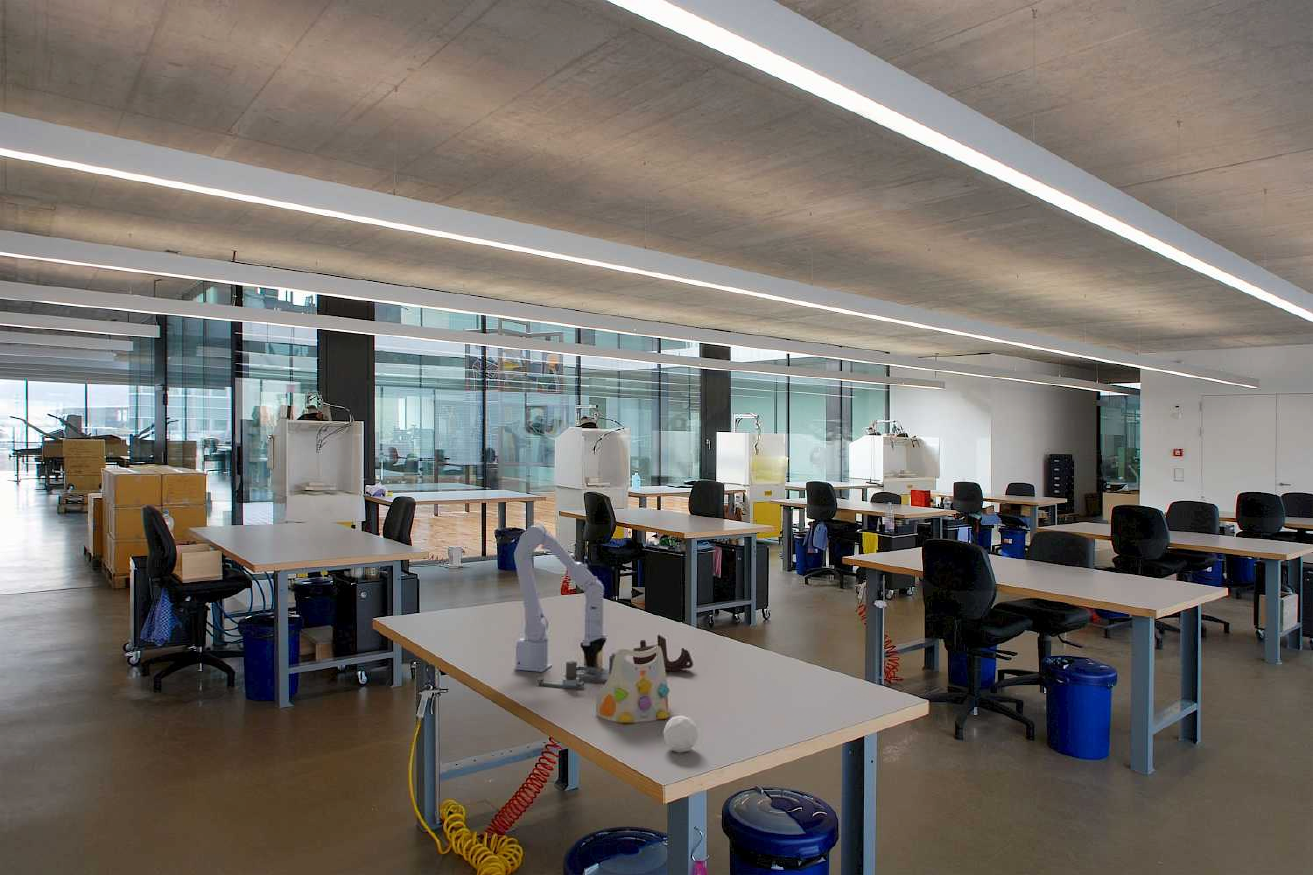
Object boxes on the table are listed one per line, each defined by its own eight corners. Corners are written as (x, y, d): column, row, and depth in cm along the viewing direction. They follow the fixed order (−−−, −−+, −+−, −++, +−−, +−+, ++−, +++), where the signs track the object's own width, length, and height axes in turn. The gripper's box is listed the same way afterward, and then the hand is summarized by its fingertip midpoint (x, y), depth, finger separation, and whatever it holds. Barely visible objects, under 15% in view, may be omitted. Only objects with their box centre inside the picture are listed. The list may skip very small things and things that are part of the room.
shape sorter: (609, 728, 193) (610, 654, 193) (594, 714, 202) (596, 645, 203) (682, 718, 200) (683, 648, 201) (665, 706, 210) (666, 639, 210)
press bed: (564, 679, 232) (564, 656, 233) (576, 670, 242) (576, 648, 242) (609, 683, 229) (610, 660, 229) (620, 674, 239) (620, 652, 239)
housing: (583, 669, 243) (584, 647, 244) (588, 666, 248) (589, 644, 248) (597, 671, 242) (597, 649, 242) (602, 667, 247) (602, 645, 247)
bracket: (690, 665, 239) (686, 630, 244) (633, 673, 243) (631, 638, 248) (695, 668, 245) (691, 634, 249) (640, 676, 249) (637, 642, 253)
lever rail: (538, 685, 226) (538, 679, 226) (541, 683, 229) (541, 677, 229) (581, 689, 223) (581, 683, 223) (584, 687, 225) (584, 681, 225)
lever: (562, 684, 224) (562, 663, 224) (566, 681, 227) (566, 660, 227) (575, 685, 223) (576, 664, 223) (579, 682, 226) (580, 661, 226)
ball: (683, 766, 176) (679, 745, 172) (658, 744, 181) (654, 723, 177) (706, 743, 180) (703, 722, 176) (681, 722, 185) (678, 702, 181)
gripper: (598, 625, 237) (597, 671, 237) (613, 616, 251) (612, 659, 251) (576, 624, 239) (575, 669, 239) (592, 614, 253) (591, 657, 253)
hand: (593, 663), depth 245 cm, fingers closed on housing, 4 cm apart
